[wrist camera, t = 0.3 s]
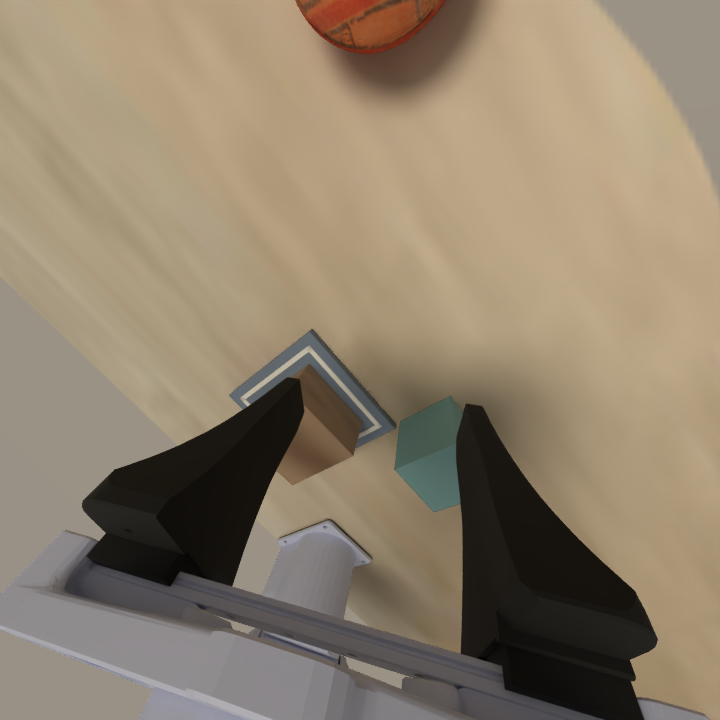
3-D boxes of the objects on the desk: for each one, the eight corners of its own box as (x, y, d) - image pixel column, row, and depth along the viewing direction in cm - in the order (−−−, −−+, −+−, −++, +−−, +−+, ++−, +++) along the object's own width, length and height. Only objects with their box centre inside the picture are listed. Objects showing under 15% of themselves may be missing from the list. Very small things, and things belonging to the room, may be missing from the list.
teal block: (432, 458, 27) (433, 512, 22) (400, 421, 26) (394, 469, 21) (482, 437, 25) (496, 491, 20) (450, 395, 24) (456, 443, 19)
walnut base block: (308, 451, 29) (292, 485, 25) (257, 401, 27) (232, 429, 24) (362, 422, 26) (353, 455, 22) (309, 363, 24) (289, 390, 21)
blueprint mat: (310, 467, 31) (307, 472, 30) (232, 391, 28) (228, 396, 28) (395, 424, 26) (394, 429, 26) (312, 328, 23) (309, 332, 23)
